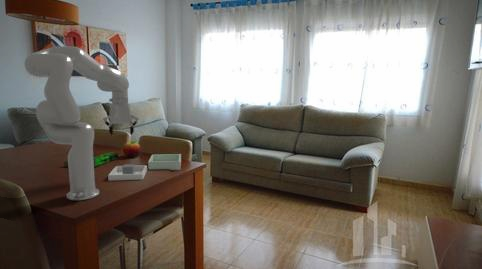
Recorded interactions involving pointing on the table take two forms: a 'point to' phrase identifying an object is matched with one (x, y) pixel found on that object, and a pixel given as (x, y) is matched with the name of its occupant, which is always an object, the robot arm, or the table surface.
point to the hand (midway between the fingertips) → (121, 134)
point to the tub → (118, 174)
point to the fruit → (132, 149)
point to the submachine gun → (101, 159)
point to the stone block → (128, 169)
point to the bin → (165, 161)
